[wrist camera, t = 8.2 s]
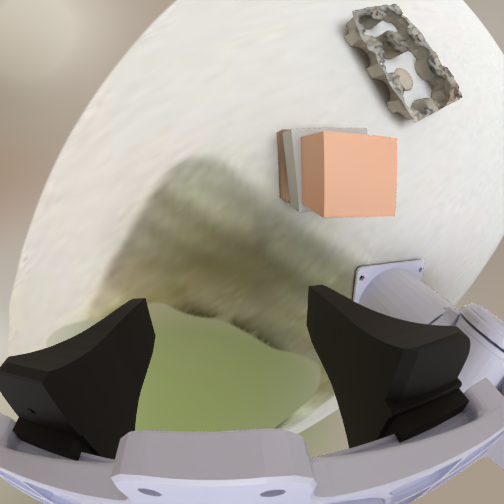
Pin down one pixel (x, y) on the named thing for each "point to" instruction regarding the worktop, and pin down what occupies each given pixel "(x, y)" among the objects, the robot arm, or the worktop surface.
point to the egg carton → (395, 45)
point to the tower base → (282, 168)
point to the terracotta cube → (349, 174)
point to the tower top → (294, 160)
